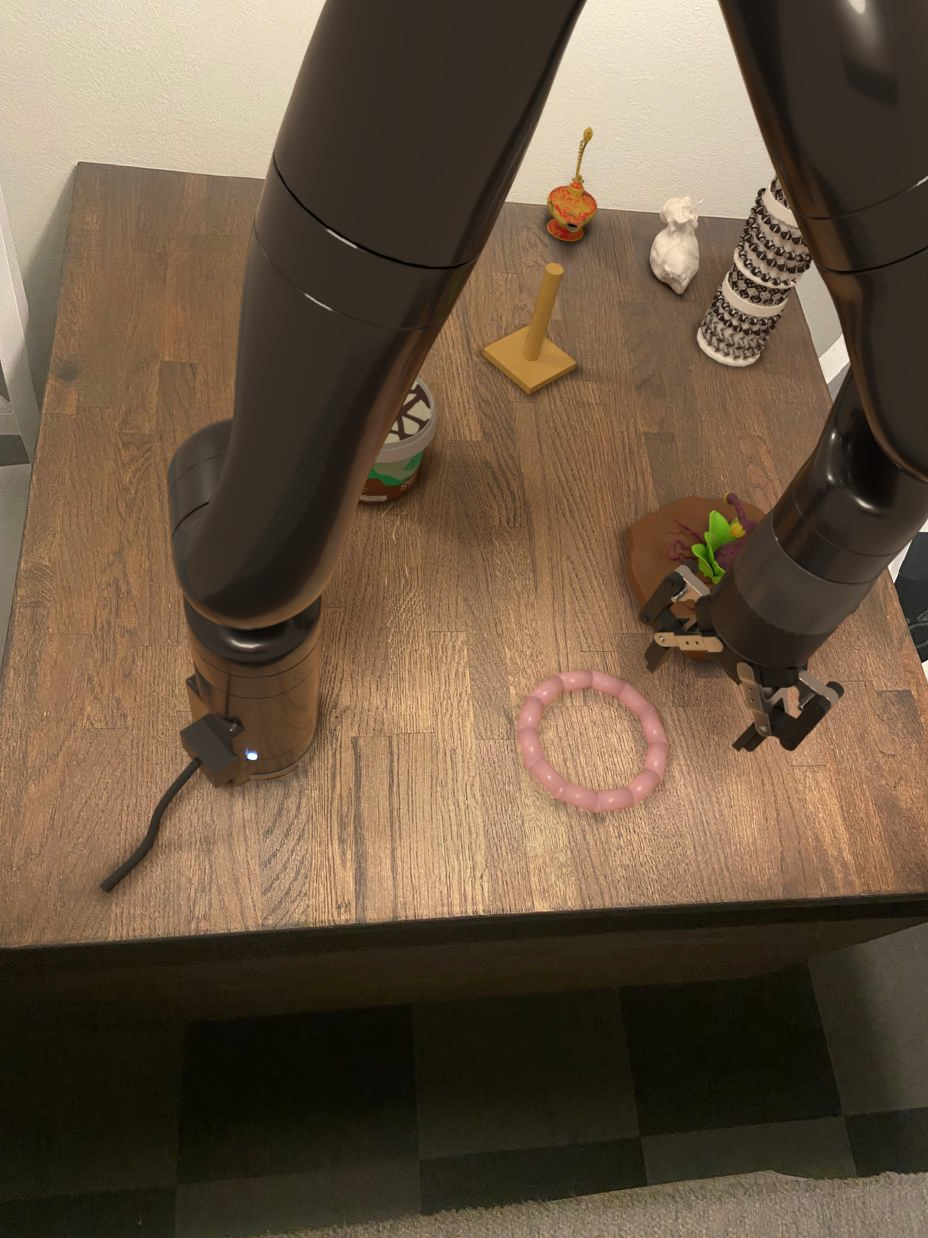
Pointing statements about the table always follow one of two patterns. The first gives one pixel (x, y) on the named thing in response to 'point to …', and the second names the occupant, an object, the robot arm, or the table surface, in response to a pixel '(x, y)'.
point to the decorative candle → (756, 282)
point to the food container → (402, 449)
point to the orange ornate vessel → (571, 203)
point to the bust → (676, 244)
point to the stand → (533, 343)
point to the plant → (688, 545)
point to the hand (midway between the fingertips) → (697, 703)
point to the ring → (576, 793)
